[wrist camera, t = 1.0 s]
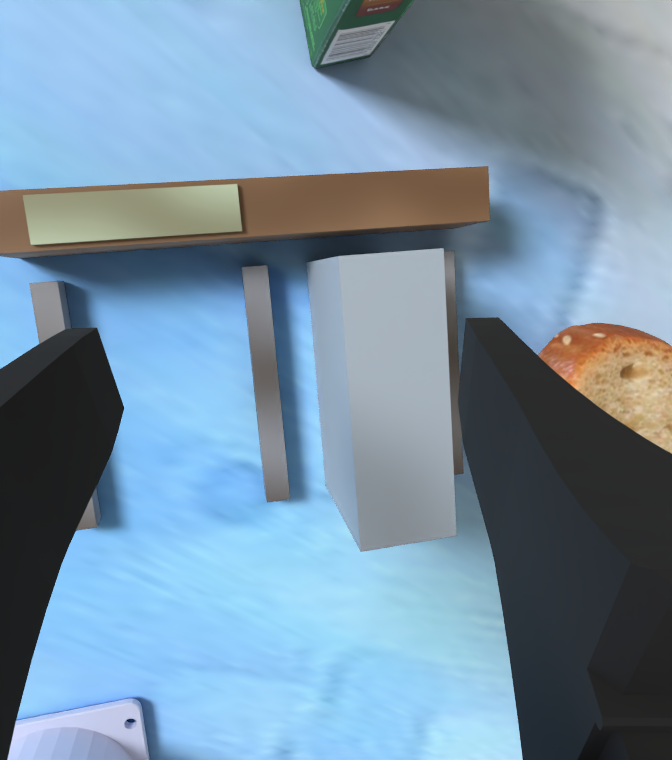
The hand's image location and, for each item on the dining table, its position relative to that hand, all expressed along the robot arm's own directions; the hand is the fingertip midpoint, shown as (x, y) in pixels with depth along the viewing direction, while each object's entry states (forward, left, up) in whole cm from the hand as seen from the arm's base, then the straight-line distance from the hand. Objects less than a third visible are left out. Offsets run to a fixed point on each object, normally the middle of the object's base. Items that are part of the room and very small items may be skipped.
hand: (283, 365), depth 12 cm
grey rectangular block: (-3, -4, -14) cm, 15 cm away
